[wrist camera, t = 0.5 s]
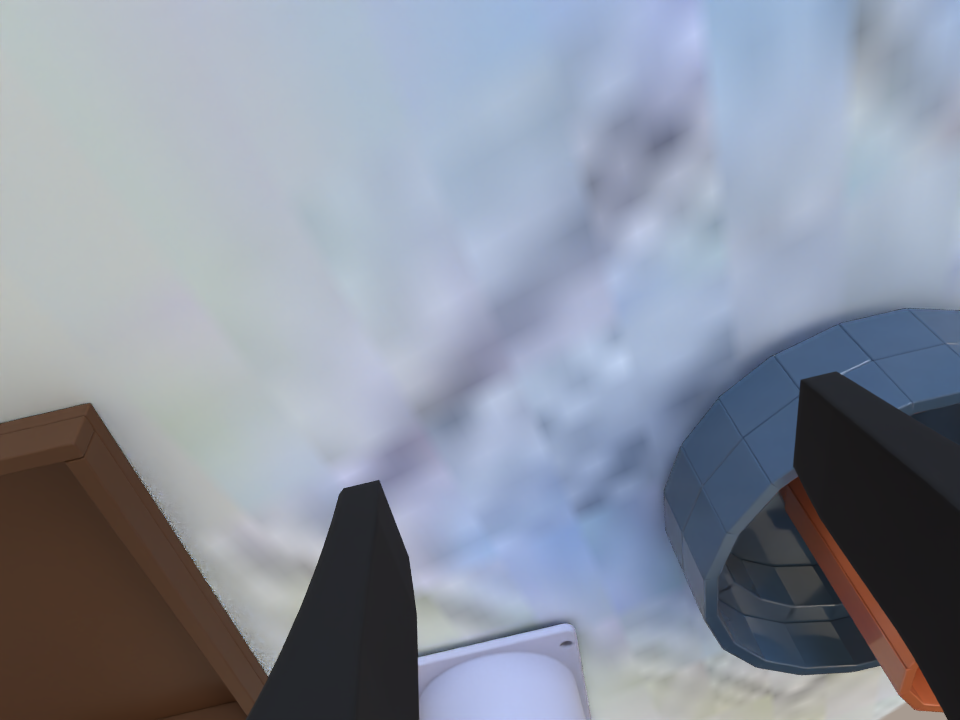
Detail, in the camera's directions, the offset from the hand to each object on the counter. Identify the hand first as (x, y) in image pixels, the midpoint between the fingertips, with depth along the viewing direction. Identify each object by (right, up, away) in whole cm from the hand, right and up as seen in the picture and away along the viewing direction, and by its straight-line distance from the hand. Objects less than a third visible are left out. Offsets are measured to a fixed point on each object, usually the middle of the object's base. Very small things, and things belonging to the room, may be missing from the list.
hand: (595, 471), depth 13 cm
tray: (-19, -7, +15) cm, 25 cm away
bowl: (+12, -2, +16) cm, 20 cm away
